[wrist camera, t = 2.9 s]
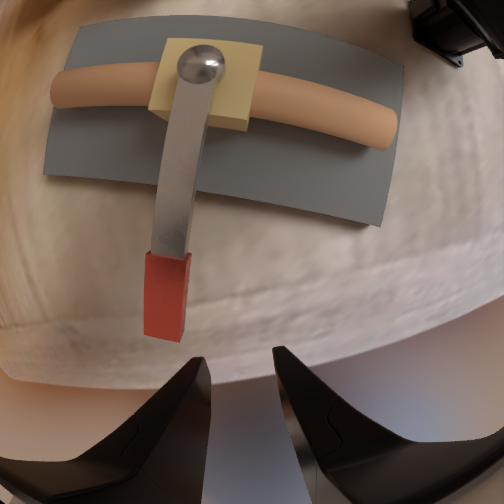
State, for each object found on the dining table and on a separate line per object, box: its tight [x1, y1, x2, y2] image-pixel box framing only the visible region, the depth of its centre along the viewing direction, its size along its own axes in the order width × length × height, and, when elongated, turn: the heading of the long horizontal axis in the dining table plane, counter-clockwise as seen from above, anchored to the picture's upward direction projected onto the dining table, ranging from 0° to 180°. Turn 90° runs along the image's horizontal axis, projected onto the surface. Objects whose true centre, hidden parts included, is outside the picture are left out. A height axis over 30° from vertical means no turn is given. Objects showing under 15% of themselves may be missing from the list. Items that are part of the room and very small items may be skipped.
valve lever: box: [144, 44, 226, 343], centre depth 13 cm, size 16×2×1 cm, turn 170°
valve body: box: [43, 15, 404, 227], centre depth 15 cm, size 28×14×6 cm, turn 80°
